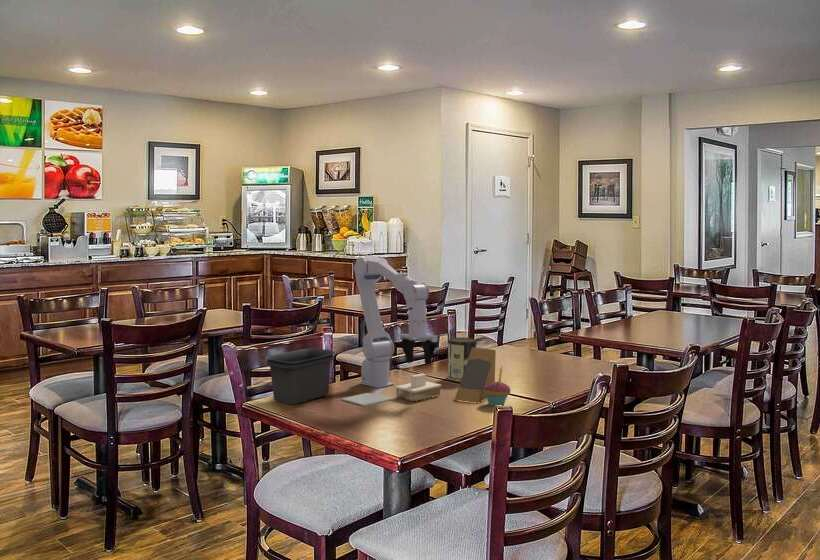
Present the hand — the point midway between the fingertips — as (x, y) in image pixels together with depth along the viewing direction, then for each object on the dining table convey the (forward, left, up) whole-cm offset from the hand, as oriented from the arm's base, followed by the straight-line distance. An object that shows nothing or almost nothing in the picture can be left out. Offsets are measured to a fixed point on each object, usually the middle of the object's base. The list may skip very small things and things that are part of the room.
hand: (419, 363), depth 239 cm
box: (0, 0, -11) cm, 11 cm away
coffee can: (-8, +31, -11) cm, 34 cm away
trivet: (-8, -16, -11) cm, 21 cm away
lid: (0, 0, -8) cm, 8 cm away
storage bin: (-25, -29, -11) cm, 40 cm away
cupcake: (+24, +10, -11) cm, 28 cm away
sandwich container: (+13, +12, -11) cm, 21 cm away
